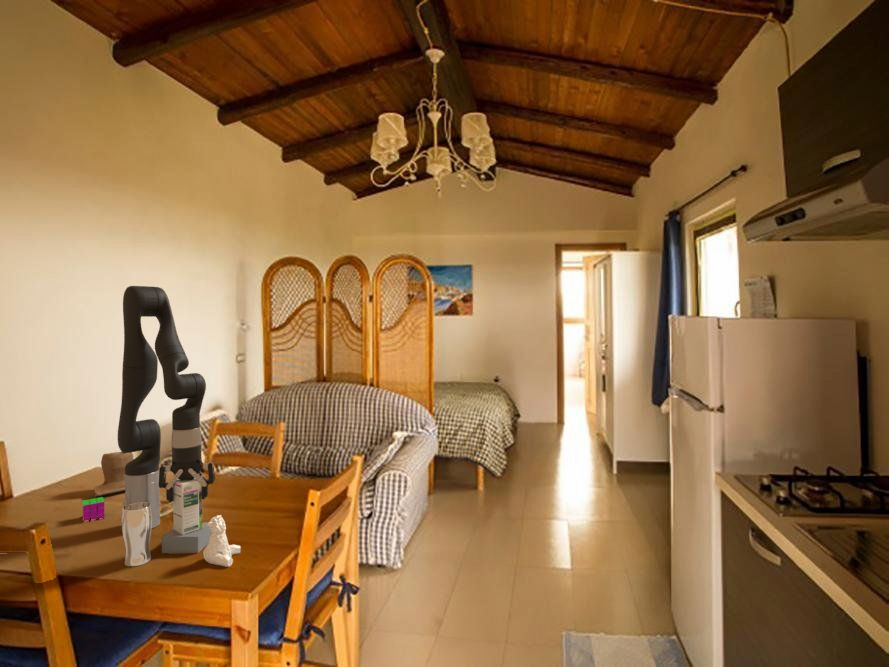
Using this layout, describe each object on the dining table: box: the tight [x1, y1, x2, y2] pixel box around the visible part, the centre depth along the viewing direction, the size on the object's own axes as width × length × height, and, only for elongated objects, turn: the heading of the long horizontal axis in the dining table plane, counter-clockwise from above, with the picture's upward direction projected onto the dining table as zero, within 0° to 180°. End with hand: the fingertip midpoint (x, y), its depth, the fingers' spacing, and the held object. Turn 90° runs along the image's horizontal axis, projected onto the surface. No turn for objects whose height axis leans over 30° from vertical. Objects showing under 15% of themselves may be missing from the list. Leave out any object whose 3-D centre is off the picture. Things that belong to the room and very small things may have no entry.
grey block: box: [161, 521, 212, 554], centre depth 146 cm, size 10×10×5 cm
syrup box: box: [172, 478, 203, 535], centre depth 146 cm, size 6×6×14 cm
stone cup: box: [93, 451, 135, 498], centre depth 193 cm, size 15×12×15 cm
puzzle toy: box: [81, 496, 106, 522], centre depth 167 cm, size 6×6×6 cm
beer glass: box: [121, 502, 153, 567], centre depth 136 cm, size 7×7×15 cm
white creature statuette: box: [202, 514, 241, 568], centre depth 137 cm, size 10×9×12 cm
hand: (187, 500), depth 146 cm, fingers open, 8 cm apart
